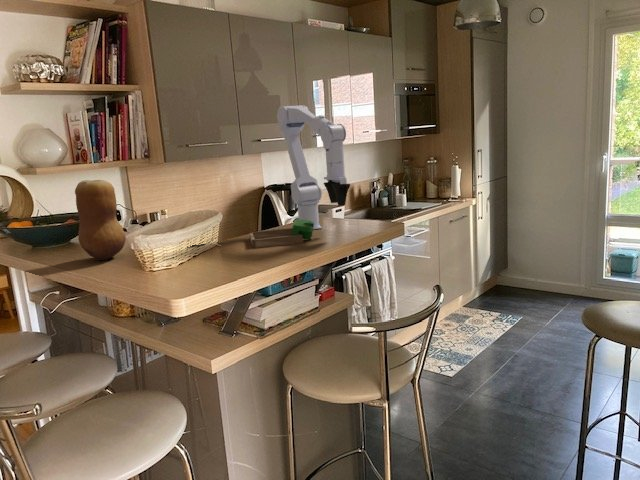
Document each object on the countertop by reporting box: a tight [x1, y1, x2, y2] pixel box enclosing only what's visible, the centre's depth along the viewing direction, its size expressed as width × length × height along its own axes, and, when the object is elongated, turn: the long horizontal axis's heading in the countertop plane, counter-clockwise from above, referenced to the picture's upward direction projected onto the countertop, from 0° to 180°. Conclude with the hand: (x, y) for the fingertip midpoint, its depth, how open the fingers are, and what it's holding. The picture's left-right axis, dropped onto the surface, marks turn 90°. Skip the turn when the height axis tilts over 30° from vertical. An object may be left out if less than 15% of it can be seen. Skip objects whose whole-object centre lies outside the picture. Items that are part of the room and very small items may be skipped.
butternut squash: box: [74, 179, 126, 261], centre depth 161 cm, size 14×13×25 cm
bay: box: [249, 227, 304, 249], centre depth 170 cm, size 14×16×2 cm
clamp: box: [292, 218, 314, 241], centre depth 171 cm, size 12×6×9 cm, turn 170°
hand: (337, 204), depth 171 cm, fingers open, 7 cm apart
